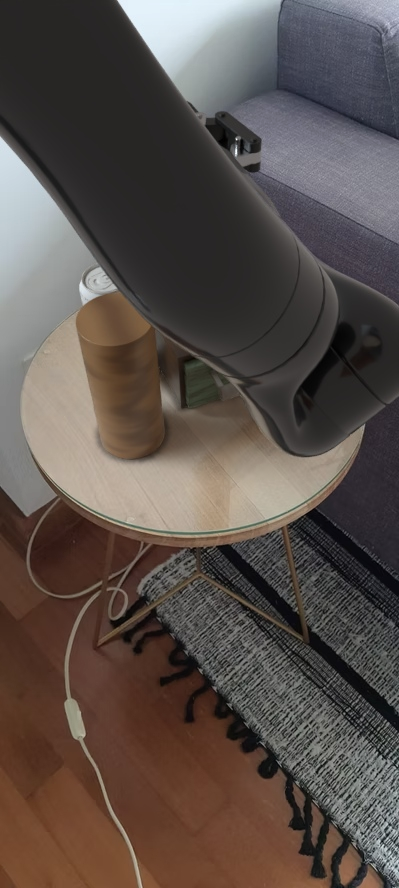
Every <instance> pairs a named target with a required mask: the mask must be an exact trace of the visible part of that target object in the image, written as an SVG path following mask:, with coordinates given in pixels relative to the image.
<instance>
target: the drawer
mask: <svg viewBox="0 0 399 888" xmlns="http://www.w3.org/2000/svg"><path fill="white" fill-rule="evenodd" d="M184 380H185V399H186V404H187V405H188V406H187V407H188V409H193V408H196V407H199V406H201V405H204V404H208V403H211V402H214V401H216V400H219V399H220V400H221V402H224V401H226V400H230V399H232V398H235V397H238V396H240V394H239V393H238V391H237V390H236V389H235V388H234V386H233V385H232V384H231V383H230V382H229V381H228V380H227V379H226V378H225V377H223V376H222V375H221V374H219V373H218V372H216V371H215V370H214V369H212V368H210V367H209V366H207V365H206V364H204V363H203V362H201V361H200V360H198V359H197V358H192V359H189V360H186V361H185V362H184Z"/></svg>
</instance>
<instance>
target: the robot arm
mask: <svg viewBox="0 0 399 888" xmlns="http://www.w3.org/2000/svg"><path fill="white" fill-rule="evenodd" d="M182 94H183V93H182V92H181V91H180V90H179V88H178V87H177V86H176V84H175V83H174V82H173V80H172V79H171V77H170V76H169V74H168V72H166V70H165V68H163V66H162V65H161V63H160V61H159V60H158V59H157V57H156V56H155V54H154V53H153V51H152V50H151V49H150V47H149V45H148V44H147V43H146V41H145V39H144V38H143V36H142V35H141V34H140V32H139V30H138V29H137V27H136V26H135V24H134V23H133V22H132V20H131V18H129V15H128V14H127V13H126V11H125V9H124V8H123V6H122V4H121V3H120V2H119V0H0V138H1V139H2V140H3V141H4V142H5V144H6V145H7V146H8V147H9V148H10V150H11V151H12V152H13V153H14V154H15V155H16V156H17V157H18V159H19V160H20V161H21V162H22V163H23V164H24V165H25V167H27V169H28V170H29V171H30V172H31V174H32V175H33V176H34V177H35V179H36V180H37V181H38V183H39V184H40V186H41V187H42V188H43V189H44V191H46V193H47V194H48V195H49V197H50V198H51V200H52V201H53V202H54V203H55V205H56V206H57V207H58V209H59V210H60V212H61V213H62V214H63V216H64V217H65V218H66V221H68V223H69V224H70V225H71V227H72V228H73V230H74V231H75V232H76V234H77V236H78V237H79V238H80V240H81V241H82V243H83V244H84V246H85V247H86V249H87V250H88V251H89V253H90V254H91V256H92V257H93V259H94V260H95V262H96V264H97V263H98V264H99V266H100V267H101V268H102V270H103V271H104V272H105V274H106V275H107V276H108V278H109V279H110V280H111V282H112V283H113V284H114V285H115V287H116V288H117V289H118V290H119V291H120V293H121V294H122V295H123V296H124V297H125V299H126V300H127V301H128V302H129V303H130V304H131V306H132V307H133V308H134V309H135V310H136V311H137V312H138V313H139V314H140V315H141V317H142V318H143V319H145V320H146V321H147V322H148V323H149V324H150V325H151V326H152V327H153V328H154V329H155V330H157V331H158V332H159V333H161V334H162V335H163V336H164V337H166V338H167V339H168V340H170V341H171V342H173V343H174V344H175V345H177V346H178V347H180V348H181V349H183V350H184V351H186V352H187V353H189V354H190V355H192V356H193V357H195V358H197V359H198V360H200V361H201V362H203V363H204V364H206V365H207V366H209V367H210V368H212V369H214V370H215V371H216V372H218V373H219V374H221V375H222V376H223V377H225V378H226V379H227V380H228V381H229V382H230V383H231V384H232V385H233V386H234V388H235V389H236V390H237V391H238V393H239V394H240V395H239V396H240V398H241V399H242V401H243V403H244V405H245V407H246V409H247V411H248V413H249V414H250V417H251V418H252V420H253V421H254V423H255V424H256V427H257V428H258V429H259V431H260V432H261V433H262V435H263V436H264V437H265V438H266V439H267V441H268V442H270V444H272V445H273V446H274V447H275V448H276V449H278V450H279V451H280V452H282V453H283V454H286V455H287V456H290V457H294V458H295V457H296V458H302V459H303V458H314V457H319V456H322V455H324V454H327V453H328V452H330V451H332V450H333V449H335V448H336V447H338V446H340V444H341V443H343V442H344V441H345V440H347V439H348V438H349V437H350V436H351V435H353V434H354V433H356V432H357V431H358V430H359V429H361V428H362V427H363V426H364V425H366V424H367V423H368V422H369V421H370V420H372V419H373V418H374V417H376V416H377V415H378V414H379V413H381V412H382V411H383V410H384V409H386V408H387V406H390V405H391V404H392V403H394V402H395V401H396V400H398V399H399V305H398V304H397V303H396V302H395V301H394V300H392V299H391V298H390V297H388V296H385V295H384V294H382V293H381V292H380V291H378V290H376V289H374V288H372V287H370V286H368V285H367V284H365V283H363V282H361V281H358V280H357V279H355V278H352V277H350V276H348V275H346V274H344V273H342V272H340V271H339V270H336V269H335V268H333V267H331V266H330V265H328V264H326V263H325V262H323V260H321V259H320V258H318V257H317V256H316V255H314V253H313V252H311V250H310V249H309V248H308V247H307V246H306V245H305V244H304V243H303V242H302V241H301V240H300V238H299V237H298V236H297V234H296V233H295V232H294V231H293V230H292V229H291V227H290V226H289V225H288V224H287V223H286V221H284V220H283V217H282V216H281V214H280V212H279V211H278V209H277V207H276V205H275V204H274V202H273V201H272V199H271V198H270V197H269V196H268V195H267V194H266V193H265V191H264V190H263V189H262V188H261V187H260V185H259V184H258V183H257V182H256V180H254V178H253V177H252V176H251V175H250V174H249V173H253V174H255V173H258V172H259V171H260V170H261V163H262V143H263V141H262V140H263V139H262V138H261V137H260V136H259V135H257V134H256V133H255V132H254V131H252V130H251V129H250V128H249V127H247V126H246V125H245V124H243V123H242V122H241V121H240V120H238V119H237V118H236V117H235V116H233V115H232V114H231V113H229V112H228V111H225V110H221V111H217V112H215V114H214V117H207V114H206V113H205V112H200V111H199V110H198V109H197V108H196V107H195V106H194V105H193V103H191V102H190V101H188V100H186V98H185V97H184V96H183V95H182Z"/></svg>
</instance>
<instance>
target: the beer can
mask: <svg viewBox="0 0 399 888" xmlns="http://www.w3.org/2000/svg"><path fill="white" fill-rule="evenodd" d="M78 290H79V295H80V299H81V300H80V301H81V304H82V307H83V306H84V305H85V304H86V303H87V302H89V301H90V300H92V299H94V298H96V297H98V296H101V295H105V294H110V293H120V291H119V290H118V289H117V288H116V287H115V285H114V284H113V283H112V282H111V280H110V279H109V278H108V276H107V275H106V274H105V272H104V271H103V270H102V268H101V267H100V266H99V264H98V263H97V262H96V263H95V264H94V263H93V264H92V265H90V266H89V267H87V268H86V269H85V270H84V271H83V272H82V274H81V278H80V282H79V285H78Z"/></svg>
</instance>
